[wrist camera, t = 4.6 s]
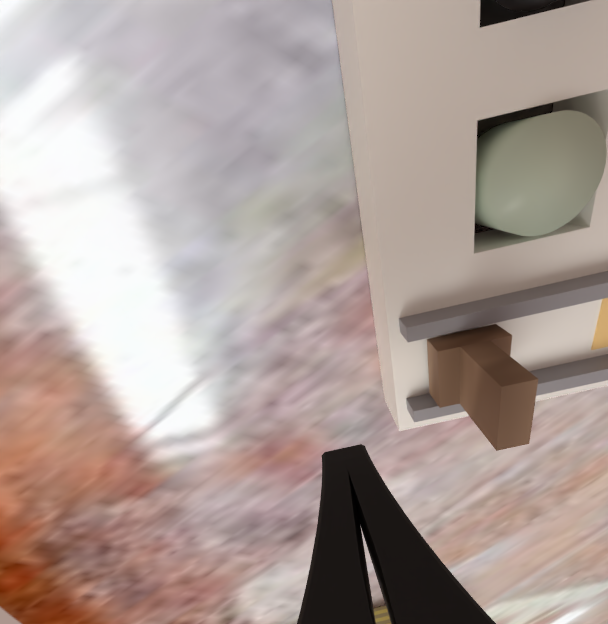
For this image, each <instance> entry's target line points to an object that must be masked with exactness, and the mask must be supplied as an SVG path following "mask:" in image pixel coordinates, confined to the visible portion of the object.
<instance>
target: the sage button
mask: <svg viewBox="0 0 608 624" xmlns="http://www.w3.org/2000/svg"><path fill="white" fill-rule="evenodd" d="M606 157H607V148H606V141H605V137H604V134H603V132H602V130H601V128H600V126H599V125H598V123H597V122H596V121H595V120H594V119H593V118H591V117H590V116H588V115H587V114H584V113H582V112H578V111H572V110H564V111H558V112H553V113H548V114H544V115H539V116H535V117H530V118H526V119H521V120H517V121H512V122H507V123H504V124H501V125H498V126H496V127H494V128H492V129H490V130H488V131H487V132H485V133H484V134H483V135H482V136H480V137H479V138H478V139H477V153H476V191H475V223H476V224H478V225H482V226H486V227H490V228H494V229H497V230H501V231H505V232H509V233H513V234H517V235H521V236H539V235H544V234H547V233H550V232H552V231H555V230H557V229H558V228H560V227H562V226H564V225H565V224H567V223H568V222H569V221H571V220H572V219H573V218H574V217H575V216H576V215H578V214H579V213H580V212H581V211H582V209H583V208H584V207H585V206H586V205H587V203H588V202H589V201H590V199H591V198H592V196H593V195H594V193H595V191H596V190H597V188H598V186H599V183H600V181H601V179H602V176H603V173H604V169H605V165H606Z"/></svg>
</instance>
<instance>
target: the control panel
mask: <svg viewBox="0 0 608 624" xmlns="http://www.w3.org/2000/svg"><path fill="white" fill-rule="evenodd" d="M332 4H333V11H334V19H335V27H336V34H337V42H338V50H339V57H340V65H341V72H342V80H343V88H344V95H345V103H346V111H347V118H348V126H349V134H350V141H351V149H352V156H353V164H354V172H355V179H356V187H357V195H358V202H359V210H360V218H361V225H362V233H363V240H364V248H365V256H366V263H367V271H368V279H369V286H370V294H371V301H372V309H373V317H374V324H375V332H376V340H377V347H378V355H379V363H380V370H381V378H382V385H383V393H384V399H385V401H386V404H387V406H388V408H389V410H390V412H391V414H392V417H393V419H394V421H395V423H396V425H397V427H398V429H399V431H403V430H407V429H412V428H417V427H421V426H426V425H430V424H435V423H440V422H444V421H449V420H453V419H458V418H462V417H467V416H469V415H468V413H467V412H466V411H465V410H464V408H463V407H462V406H461V405H460V404H455V405H451V406H446V407H442V408H439V406H438V405H437V403H436V402H435V400H434V399H433V398H432V396H431V395H430V393H429V373H428V352H427V339H431V338H435V337H440V336H444V335H449V334H453V333H457V332H462V331H466V330H471V329H475V328H480V327H484V326H489V325H493V324H497V325H498V326H500V327H501V328H503V329H504V330H505V331H507V332H508V333H510V334H511V335H512V343H511V354H510V357H512V358H513V359H514V360H515V361H517V362H518V363H519V364H520V365H522V366H523V367H524V368H525V369H527V370H528V371H529V372H530V373H532V374H533V375H534V376H535V377H537V378H538V385H537V392H536V399H535V402H536V401H541V400H545V399H550V398H554V397H559V396H563V395H568V394H573V393H577V392H582V391H586V390H591V389H596V388H600V387H605V386H608V0H565V7H562V8H558V9H554V10H550V11H546V12H542V13H538V14H534V15H530V16H526V17H521V18H517V19H513V20H509V21H505V22H501V23H497V24H493V25H489V26H485V27H481V28H480V0H332ZM551 103H553V111H552V113H553V112H558V111H564V110H572V111H578V112H582V113H584V114H587V115H588V116H590V117H591V118H593V119H594V120H595V121H596V122H597V123H598V125H599V126H600V128H601V130H602V132H603V134H604V137H605V141H606V148H607V157H606V165H605V169H604V173H603V176H602V179H601V181H600V183H599V186H598V188H597V190H596V191H595V193H594V195H593V196H592V198H591V199H590V201H589V202H588V203H587V205H586V206H585V207H584V208H583V209H582V211H581V212H580V213H579V214H578V215H576V216H575V217H574V218H573V219H572V220H571V221H569V222H568V223H567V224H565V225H564V226H562V227H560V228H558V229H557V230H555V231H552V232H550V233H547V234H544V235H539V236H521V235H517V234H513V233H509V232H505V231H501V230H497V229H492V230H488V231H484V232H479V233H475V234H474V230H475V191H476V153H477V121H480V120H484V119H488V118H493V117H497V116H501V115H505V114H509V113H513V112H518V111H522V110H526V109H530V108H534V107H538V106H543V105H547V104H551Z"/></svg>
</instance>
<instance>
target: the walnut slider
mask: <svg viewBox="0 0 608 624" xmlns="http://www.w3.org/2000/svg"><path fill="white" fill-rule="evenodd" d="M511 343H512V335H511V334H510V333H508V332H507V331H505V330H504V329H503V328H501V327H500V326H498V325H497V324H493V325H489V326H484V327H480V328H475V329H471V330H466V331H462V332H457V333H453V334H449V335H444V336H440V337H435V338H431V339H427V352H428V373H429V393H430V395H431V396H432V398H433V399H434V400H435V402H436V403H437V405H438V406H439V408H442V407H446V406H451V405H455V404H460V405H461V406H462V407H463V408H464V410H465V411H466V412H467V413H468V415H469V416H470V417H471V419H472V420H473V421H474V422H475V424H476V425H477V426H478V428H479V429H480V430H481V431H482V433H483V434H484V435H485V437H486V438H487V439H488V440H489V442H490V443H491V444H492V445H493V447H494V448H495V449H496V451H497V450H502V449H506V448H511V447H516V446H520V445H525V444H529V440H530V433H531V427H532V420H533V413H534V406H535V399H536V392H537V385H538V378H537V377H535V376H534V375H533V374H532V373H530V372H529V371H528V370H527V369H525V368H524V367H523V366H522V365H520V364H519V363H518V362H517V361H515V360H514V359H513V358H512V357H510V354H511Z"/></svg>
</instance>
